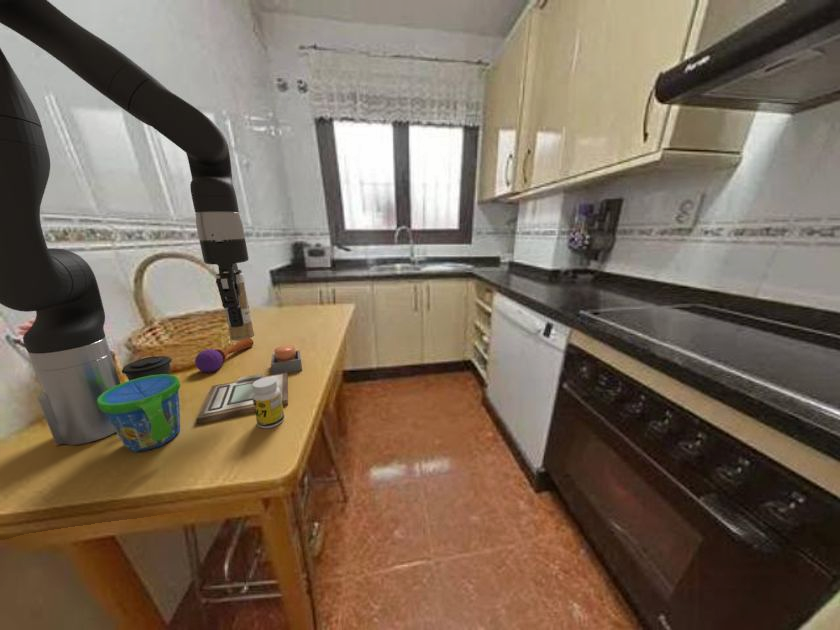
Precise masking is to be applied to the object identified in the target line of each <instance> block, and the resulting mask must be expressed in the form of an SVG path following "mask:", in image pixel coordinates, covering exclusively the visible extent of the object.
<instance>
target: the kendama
mask: <svg viewBox="0 0 840 630" xmlns="http://www.w3.org/2000/svg"><path fill="white" fill-rule="evenodd" d="M253 346H254V341H253V339H252V338H249V339H247V340H241V341H237V343H235V344H234V345H233V346H231V347H229V348H228V349H226V350H223V349H219V348H218V349H205V350H203V351H200V352H199V353H198V354H197V355H196V356H195V358H194V359H195V360H194V363H195V367H196V368H197V369H198V370H199V371H200V372H203V373H212V372H215V371H218V370H219V369H220V367H221V366H222V365H223V364H224V362H225V361H226V359H227V357H228V355H230V354H233V353H237V352H239V351H243V350H247V349H250V348H252V347H253Z"/></svg>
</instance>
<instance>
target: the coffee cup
mask: <svg viewBox="0 0 840 630" xmlns="http://www.w3.org/2000/svg"><path fill="white" fill-rule="evenodd" d="M171 363H172V358H171V357H170V356H166V355H157V356H156V355H155V356H154V355H153V356H149V357H148V356H147V357H143V358H139V359H137V360H134V361H132V362H130V363H127V364H126V365H124V366H123V368H122V370H121V373H122V374H124V375H125V376H126V378H127V379H128V381H130V380H134V379H137V378H141V377H146V376H151V375H160V374H169V375H172V371H171Z"/></svg>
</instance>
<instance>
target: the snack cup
mask: <svg viewBox="0 0 840 630" xmlns="http://www.w3.org/2000/svg"><path fill="white" fill-rule="evenodd" d="M180 388H181V384H180V380H179V377H178V376H176V375H173V374H171V375H169V374H160V375H151V376H146V377H141V378H137V379H134V380H130V381H129V380H128V381H124V382H122V383H121V384H119V385H117V386H114V387H112V388H110V389H108V390H107V391H105V392H104V393H102V394H101V395H100V396H99V397H98V399H97V404H98V407H99V409H100V410H101V411H102V412H104V413H105V414H106V415H107V417H108V419H109V421H110V422H111V424H112V426H113V427H114V429H115V431H116V432H115V433H116V434H117V435H118V437H119V439H120V441H121V442H122V443H123V445H124V446H125V448H126V449H128V450H130V451H132V452H134V453H137V452H138V453H139V452H140V451H147V450H151V449H155V448H158V447H162V446H163V445H165V444H166V443H168V442H170V441H171V440H172V439H174V438H175V437H176V436H177V434H179V433H180V432H181V412H180V395H179V390H180Z"/></svg>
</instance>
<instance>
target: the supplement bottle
mask: <svg viewBox="0 0 840 630" xmlns="http://www.w3.org/2000/svg"><path fill="white" fill-rule="evenodd" d="M253 391H254V393H253V395H252V398H253V404H254V409H255V412H254V413H255V414H254V415H255V417H256V418H255V419H256V424H257V426H258V427H259V428H262V429H271V428H275V427H277V426H278V425H280V424H281V423H283V422H284V420H285V412H284V406H283V405H282V399H281V392H280V389H279V388H278V387H277V381H276V379H275V378H273V377H266V378H262V379H259V380H257V381H255V382H254V383H253Z"/></svg>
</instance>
